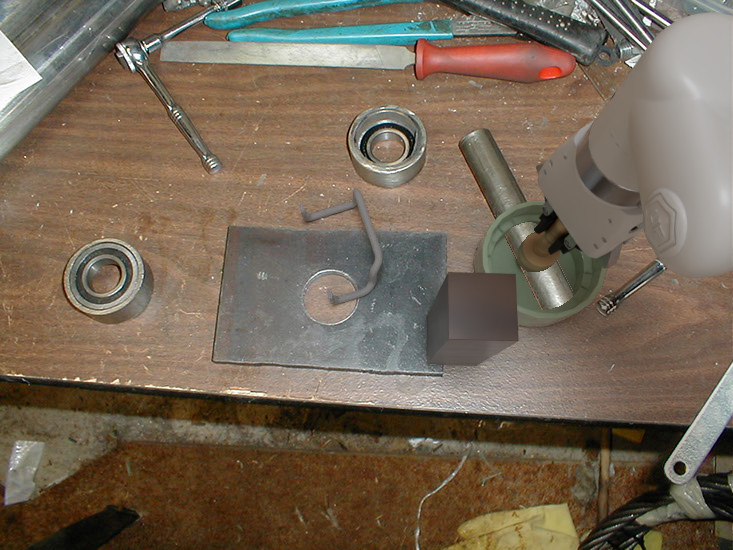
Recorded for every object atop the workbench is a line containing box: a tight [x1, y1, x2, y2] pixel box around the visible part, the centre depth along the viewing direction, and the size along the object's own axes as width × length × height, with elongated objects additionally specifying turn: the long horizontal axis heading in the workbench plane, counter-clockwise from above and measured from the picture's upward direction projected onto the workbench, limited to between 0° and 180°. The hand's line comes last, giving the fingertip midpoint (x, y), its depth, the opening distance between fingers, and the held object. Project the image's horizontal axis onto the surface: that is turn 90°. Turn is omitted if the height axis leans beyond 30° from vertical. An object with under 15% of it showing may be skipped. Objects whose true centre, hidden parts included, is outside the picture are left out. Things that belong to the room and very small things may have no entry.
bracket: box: [299, 188, 384, 304], centre depth 68 cm, size 13×8×5 cm, turn 18°
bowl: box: [473, 200, 608, 328], centre depth 67 cm, size 14×14×6 cm
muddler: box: [517, 217, 569, 272], centre depth 62 cm, size 4×4×13 cm
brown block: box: [426, 271, 519, 367], centre depth 58 cm, size 6×6×20 cm
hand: (553, 236), depth 61 cm, fingers closed on muddler, 2 cm apart
